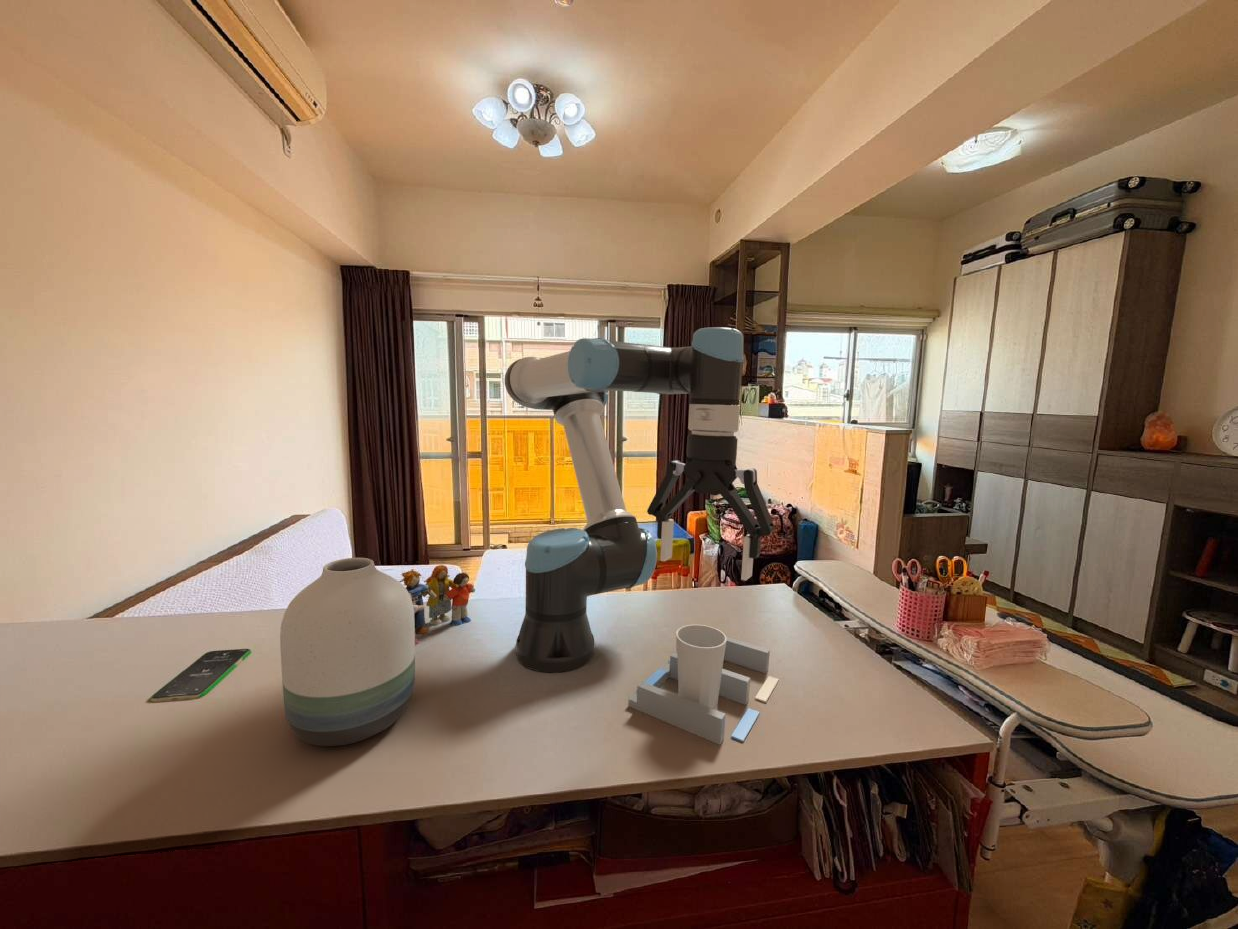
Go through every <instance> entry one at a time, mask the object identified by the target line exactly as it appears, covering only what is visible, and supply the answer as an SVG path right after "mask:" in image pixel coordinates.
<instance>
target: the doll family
mask: <svg viewBox="0 0 1238 929" xmlns="http://www.w3.org/2000/svg"><path fill="white" fill-rule="evenodd" d="M400 576H401V577H403V578H402V579H401V580H398V581H399V582H400V583H403V586H406V587H405V588H406V589H407V591H408V593H409V595H410V597H411V600H412V603H413V608H414V623H415V637H416V636H417V634H418V635H423V634H426V633H427V632H428V631H429V630H428V628H427V627H425V626H426V617H425V605H424V600H423V597H424V598H425V597H426V596H427V595H428V598H427V601H426V607H429V608H428V609H429V610H428V618H429V619H430V621H429V624H431V625H433V626H439V625H441V624H442V623H445V622H449V621H450V620H451V621H450V624H451V625H452V626H456V627H457V626H460V625H462V624H469V623H471V621H472V619H471V618H470V617H469V613H468V604H469V598H470V594H471V593H472V594H473V593H475V592H476V589H475V586H474V585H475V584H473V583H468V582H469V579H470V576H469V575H468V574H467V572H459V573H457V574H456V575H455V577H453V579H451V578H450V576H451V575H449V570H448V567H447V566H446V565H443V564H440V565H436V566H435V567H434V569H433V570H432V572H431V575H430V576H429V577H427V579H426V580H424V581H423V583H425V584H423V583H420V581H421V580H420V579H421V578H420V577H422V574H421V573H420V572H418V571H417V570H414V568H411V570H407V571H406V572H402V573H401V574H400ZM450 588H451V589H450ZM449 612H451V618H450V617H449V616H448V615H446V614H447V613H449ZM418 644H419V639H417V638H415V646H416V645H418Z"/></svg>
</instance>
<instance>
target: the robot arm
mask: <svg viewBox="0 0 1238 929" xmlns="http://www.w3.org/2000/svg"><path fill="white" fill-rule="evenodd" d="M690 345H691V346H681V347H680V346H679V347H669V346H661V345H660V346H659V345H652V344H642V343H635V342H634V343H632V342H625V341H616V340H610V339H609V340H608V339H605V338H602V337H598V338H597V337H595V338H588V337H587V338H586V337H583V338H579V339H577V340H576V341H575V342H574V345H572V346H571V348H570V350H568V351H565V352H561V353H556V354H554V355H550V356H545V357H536V356H526V357H523V358H519V359H517V360H515V361H514V362H512V363H511V364H510V365H509V366H508V368H507V370H506V372H505V374H504V380H503V381H504V387H505V390H506V393H507V395H508V396H509V397H510V398H511V399H512V400H513V401H514V402H516V403H517V404H518V405H520V406H522V407H526V408H528V409H533V410H542V411H543V410H544V411H545V410H547V411H552V412H553V415H554V420H555V422H556V423H558V424H559V425H560V426H563V429H564V433H565V436H566V441H567V444H568V449H569V452H570V456H571V461H572V465H573V469H574V474H575V477H576V482H577V484H578V488H579V493H580V497H581V500H582V506H583V509H584V513H585V518H586V521H587V522H586V524H585V526H584V528H583V529H581V528H576V527H569V528H564V527H563V528H555V529H551V530H547V531H544V532H541V533H538V534H537V535H535V536H534V537H533V538H532V539H530V540H529V542H528V543H527V545H526V556H525V562H524V567H525V568H524V569H525V614H524V617H523V620H522V623H521V626H520V629H519V632H518V635H517V637H516V641H515V658H516V660H517V661H518V662H519V664H521V665H523V666H524V667H526V668H528V669H531V670H534V671H538V672H543V673H544V672H545V673H562V672H567V671H571V670H575V669H578V668H580V667H582V666H585V665H586V664H587V663H589V662H590V661H591V659H593V657H594V654H595V644H596V643H595V637H594V635H593V632H592V629H591V625H590V621H589V618H588V614H587V605H588V604H587V603H588V602H587V600H588V597H590V596H595V595H598V594H599V595H600V594H604V593H609V592H610V593H611V592H614V591H618V590H623V589H626V590H630V589H632V588H634V587H637V586H641V585H644V584H646V583H648V581H649V580H650V579H651V578H652V577H653V574H654V573H655V568H656V565H657V560H658V550H657V545H656V540H655V538H654V536H653V534H652V533H651V532H650V530H648V529H646V528H643V527H639V524H638V521H637V518H636V516H635V515H633V514H631V513H630V512H628V511H627V509H626V505H625V501H624V498H623V497H624V496H623V494H622V490H621V487H620V483H619V479H618V475H617V473H616V470H615V466H614V461H613V458H612V455H611V451H610V448H609V445H608V441H607V438H606V432H605V430H604V427H603V423H602V420H601V416H602V414H603V413H604V410H605V406H606V405H607V402H608V400H609V393H608V392H609V391H610V392H611V391H612V392H613V391H614V392H634V393H649V394H650V393H651V394H657V395H666V396H668V395H670V396H671V395H681V394H682V395H684V394H685V395H687V394H688V395H689V400H688V401H689V402H688V404H689V409H688V425H687V426H688V427H687V429H688V430H689V431H691V433H689V434H688V435H687V439H686V440H687V441H686V442H687V443H686V462H685V463H683V462H681V461H680V460H671V461H669V462H667V466H666V470H665V476H664V477H663V479H662V481H661V483H660V485H659V487H658V489H657V491H656V493H655V494H654V497H653V498H652V500H651V501H650V503H649V506H648V508H647V510H646V511H647V514H648V515H650V516H652V517H655V518H656V519H657V530H656V532H657V533H656V537H657V539H658V540H660V557H659V558H660V561H661V562H666V561H668V560H670V559H672V558H673V547H674V546H673V544H674V543H673V541H674V529H675V528H674V526H675V525H674V523H675V519H674V518H673V519H672V518H671V517H672V515H673V514H674V513H675V512H676V511H677V510H678V509H679V507H680V506H681V505H683V503H684V502H685V501H686V500H687V499H688V498H689V497H690V496H691V495H692V494H693V493H694V492H696V493H697V494H708V495H710V496H719V495H721V497H722V498H723V500H725V501H726V502H727V503H728V505H729V507H730V508H731V510H732V512H734V515H735V516H736V517H737V519H738V520H739V521H740V523H741V524H742V526H743V527H744V529H745V530H746V531H747V533H748V534H746V535H745V536H743V548H742V559H741V560H742V561H741V562H742V563H741V574H740V576H741V577H740V580H741V581H746V582H747V581H748V579H750V578H751V577H752V576H753V568H754V566H753V565H754V560H755V559H757V558H758V557H760V555H761V546H762V544H761V543H762V537H767V536H770V535H771V534H772V533H774V532H775V531H776V527H775V524H774V520H773V519H772V517H771V513H770V511H769V509H768V506H767V504H766V501H765V499H764V497H763V494H762V492H761V490H760V487H759V485H758V484H759V483H758V472H757V469H756V468H754V467H752V468H748V469H738V468H737V455H738V454H737V453H738V452H737V451H738V441H739V440H738V437H737V436H736V435H735V433H738V431H739V427H740V426H739V423H740V421H739V420H740V405H741V401H740V400H741V389H742V376H743V369H744V368H743V367H744V361H745V357H744V335H743V333H742V332H741V331H740V330H738V329H736V328H731V327H722V326H721V327H719V326H717V327H715V326H714V327H703V328H699V329H696V331H695V332H694V333H693V336H692V341H691V344H690ZM683 472H684V475H685V477H686V478H687V481H686V482H685V483H684V484H683V485H682V486H681V487H680V489H679V490H678V491H677V493H676V494H674V496H673V497H672V498H671V499H670V500H669V501H668V502H667V504H666V501H667V499H668V497H669V496H670V494H671V492H672V490H673V488H674V487H675V484H676V483H677V481H678V479H679V476H681V475H682V473H683ZM737 478H738V479H739V481H740V484H743V486H744V490H745V493H746V495H747V498H748V500H749V502H750V505H751V508H752V509H753V512H754V515H755V516H754V515H753V513H752V512H751V510H750V509H749V508H748V506H747V505H746V503H745V502H744V500H743V499H742V497H741V496H740V494H739V491H738V489H737V488H736V487H735V485H734V483H733V482H735V480H736V479H737ZM665 504H666V505H665ZM755 517H756V518H755Z"/></svg>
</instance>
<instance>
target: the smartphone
mask: <svg viewBox="0 0 1238 929" xmlns="http://www.w3.org/2000/svg"><path fill="white" fill-rule="evenodd" d="M251 653H252V650H251V649H250V648H238V649H236V648H235V649H222V650H209V651H208V652H206V653H204V654H202V655H201V656H200V657H199V658H198V659H196V660H195V661H194V662H193V663H192V664H190V665H189V666H187V667H186V668H185V669H183V671H181V672H180V673H179V674H177V675H176V676H175V677H173V678H172V679H170V680H169V681H168V682H166V684H164V685H163V686H162V687H161V688H159V690H157V691H156V692H154V693H153V694H152V695H151V696H150V698H149V699H148V700H149V702H151V703H152V702H154V703H156V702H159V703H160V702H169V701H183V700H184V701H185V700H193V699H200V698H203V697H205V696H206V695H208V694H209V693H210V692H211V691H212V690H213V689H214V688H215V687H216V686H217V685H218V684H219V683H221V682H222V681H223V680H224V679H225V678H226V677H227V676H228V675H230V673H231V672H233V670H235V669H237V666H238V665H239V664H240V663H242V662H244V661H245V659H247V658H248V657H249V656H250V654H251Z"/></svg>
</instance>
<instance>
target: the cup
mask: <svg viewBox="0 0 1238 929" xmlns="http://www.w3.org/2000/svg"><path fill="white" fill-rule="evenodd" d="M726 637H727V636H726V633H724V632H723V631H721V629H718V628H715V627H713V626H709V625H705V624H687V625H684V626H681V627H680V628H678V629H677V630H676V631H675V641H676V642H675V645H676V646H675V648H676V653H677V659H678V680H677V682H678V684H677V686H678V687H677V688H678V690H677V691H678V696H681V697H683V698H686V699H688V700H691V701H694V702H696V703H699V704H701V705H704V706H707V707H709V708H712V709H714V710H717V711H718V705H719V704H718V702H719V701H718V700H719V696H720V695H719V689H720V682H721V675H722V669H724V668H723V667H724V661H725V660H724V654H725V648H726V641H727V638H726Z"/></svg>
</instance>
